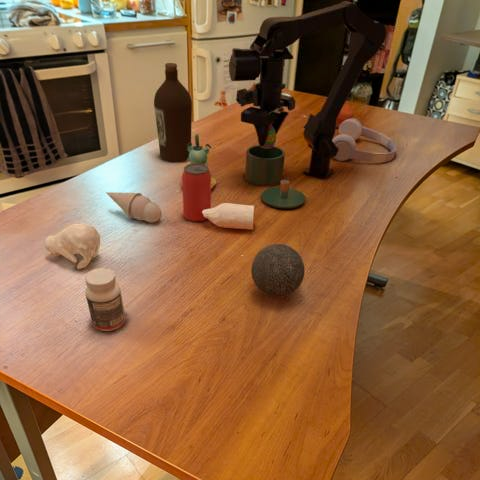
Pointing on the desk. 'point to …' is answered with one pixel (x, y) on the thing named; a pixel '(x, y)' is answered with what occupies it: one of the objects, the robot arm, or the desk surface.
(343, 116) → the tomato
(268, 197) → the bin lid
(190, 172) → the beer can
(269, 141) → the egg
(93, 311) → the pill bottle
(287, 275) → the decorative ball
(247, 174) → the bin
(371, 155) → the headphones
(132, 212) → the ice cream cone
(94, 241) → the beige rounded piece
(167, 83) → the olive oil
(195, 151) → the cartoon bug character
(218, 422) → the desk surface
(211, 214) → the white bottle
